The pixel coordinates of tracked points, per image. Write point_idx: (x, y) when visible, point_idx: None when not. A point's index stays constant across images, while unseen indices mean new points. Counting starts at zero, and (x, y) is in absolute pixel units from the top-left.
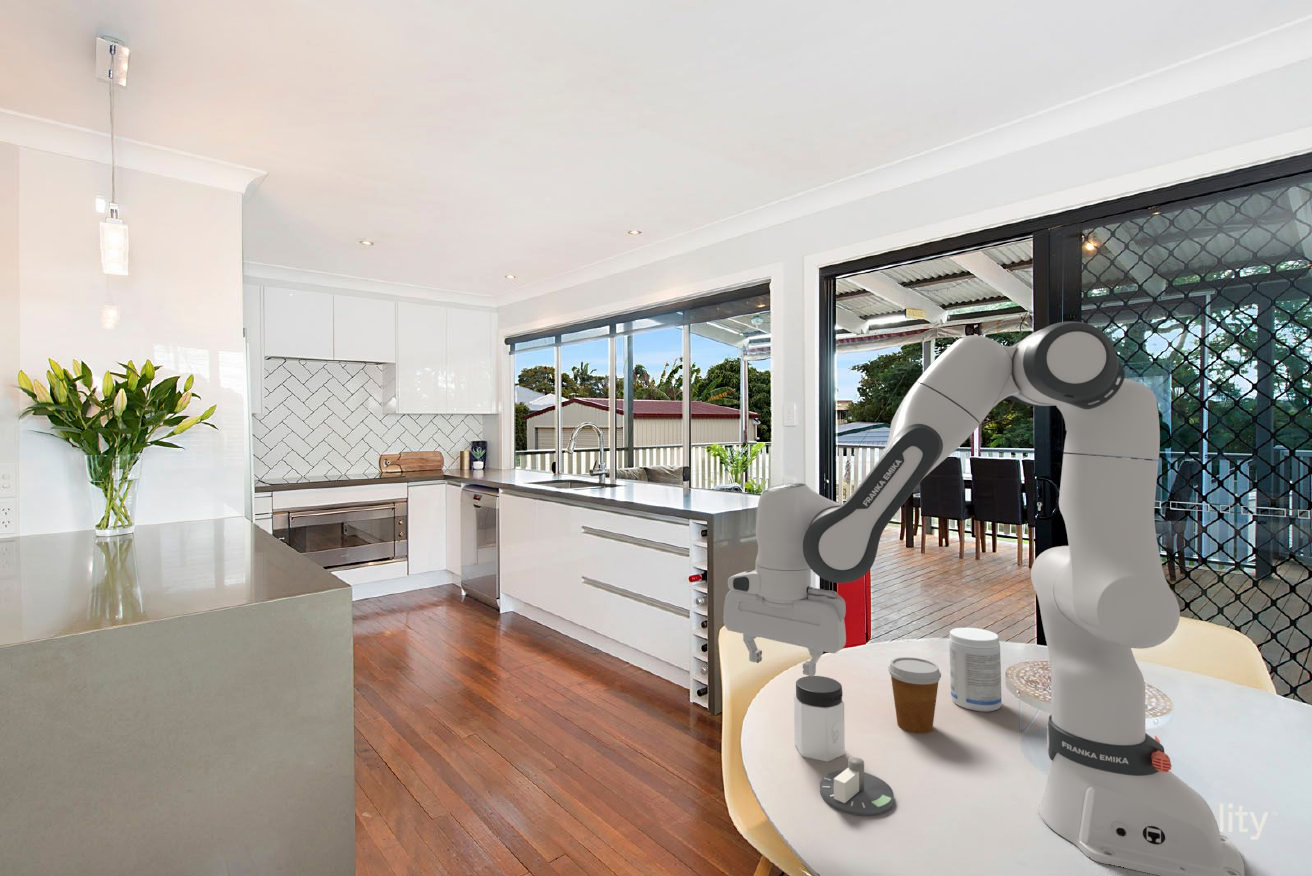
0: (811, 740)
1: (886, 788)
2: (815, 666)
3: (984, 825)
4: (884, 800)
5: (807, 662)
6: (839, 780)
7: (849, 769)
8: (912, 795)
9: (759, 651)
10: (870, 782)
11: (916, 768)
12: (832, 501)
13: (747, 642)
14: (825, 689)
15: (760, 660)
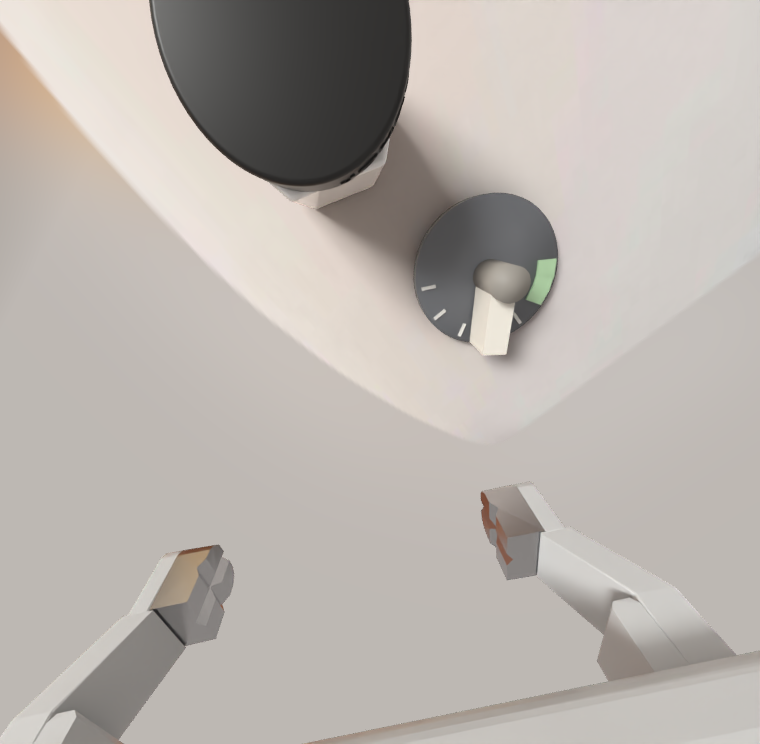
0: (335, 197)
1: (538, 226)
2: (552, 513)
3: (709, 182)
4: (546, 276)
5: (521, 555)
6: (494, 352)
7: (496, 300)
8: (574, 178)
9: (198, 621)
10: (503, 229)
11: (564, 15)
12: None
13: (118, 734)
14: (357, 96)
15: (219, 554)
